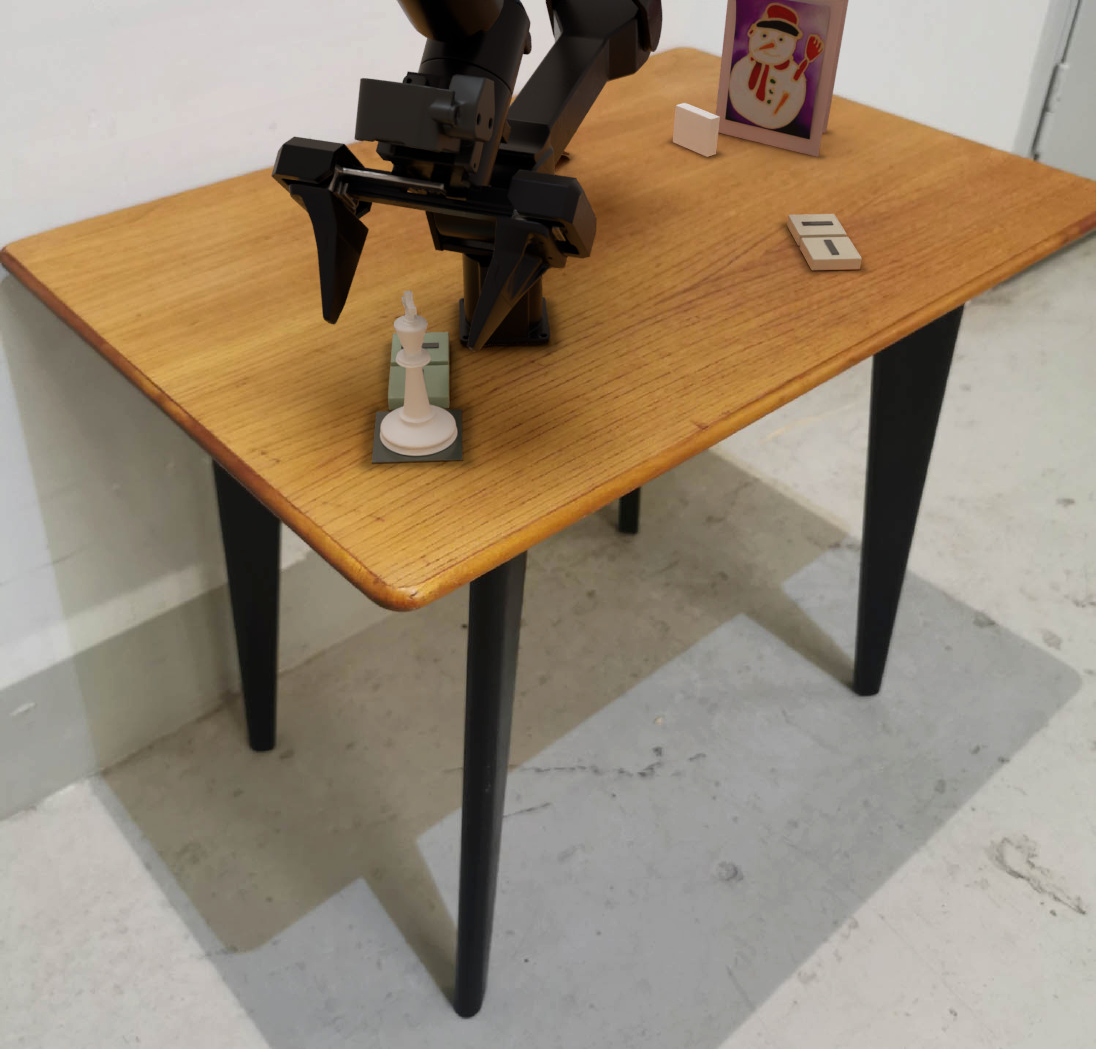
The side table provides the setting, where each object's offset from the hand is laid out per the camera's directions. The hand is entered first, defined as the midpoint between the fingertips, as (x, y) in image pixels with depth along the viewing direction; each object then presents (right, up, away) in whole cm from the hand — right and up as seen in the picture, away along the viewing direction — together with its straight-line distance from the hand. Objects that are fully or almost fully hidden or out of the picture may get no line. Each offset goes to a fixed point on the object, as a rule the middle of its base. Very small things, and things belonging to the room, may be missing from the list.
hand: (399, 335), depth 66 cm
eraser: (+23, +26, +45) cm, 57 cm away
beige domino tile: (+32, +12, +28) cm, 44 cm away
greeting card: (+32, +28, +48) cm, 64 cm away
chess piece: (0, -5, +6) cm, 8 cm away
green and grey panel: (0, -3, +9) cm, 10 cm away
